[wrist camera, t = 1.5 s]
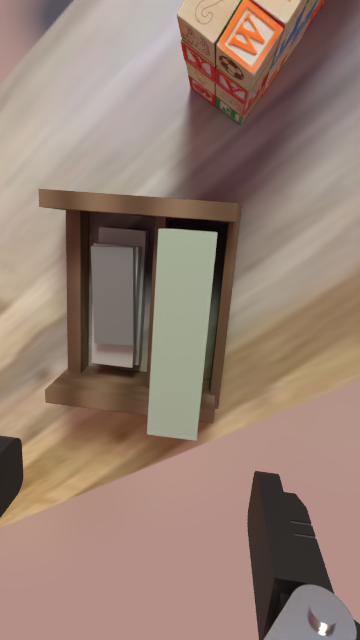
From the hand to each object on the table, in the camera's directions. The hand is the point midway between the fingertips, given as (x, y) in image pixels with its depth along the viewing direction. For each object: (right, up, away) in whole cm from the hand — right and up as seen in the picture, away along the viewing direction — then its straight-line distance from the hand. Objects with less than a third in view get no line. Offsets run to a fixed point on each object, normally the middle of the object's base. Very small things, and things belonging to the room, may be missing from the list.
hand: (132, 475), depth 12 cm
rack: (-2, +8, +27) cm, 29 cm away
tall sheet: (+3, +7, +27) cm, 28 cm away
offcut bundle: (-5, +8, +28) cm, 30 cm away
